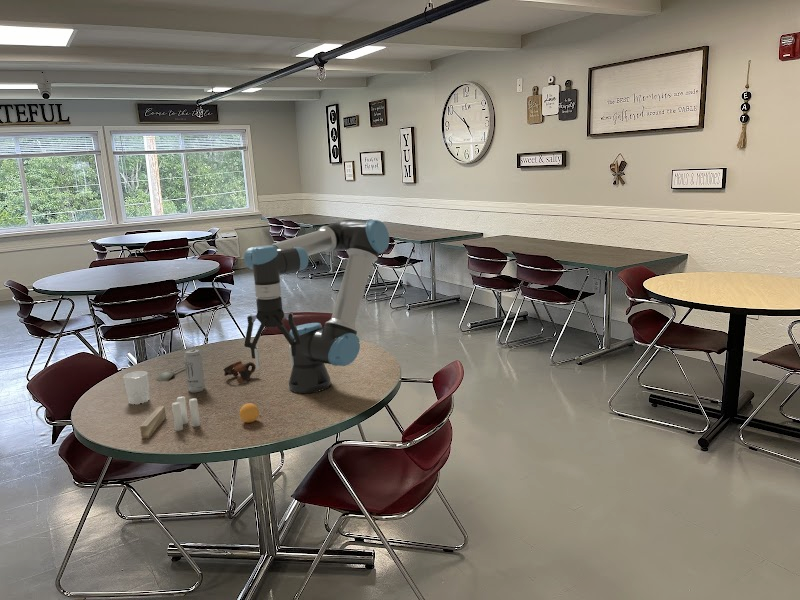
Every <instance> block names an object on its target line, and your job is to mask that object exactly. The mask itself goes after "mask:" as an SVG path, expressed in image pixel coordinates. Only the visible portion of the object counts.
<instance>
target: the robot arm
mask: <svg viewBox="0 0 800 600" xmlns="http://www.w3.org/2000/svg"><path fill="white" fill-rule="evenodd" d="M389 233H390V232H389V231H388V227H386V224H385V223H384V222H382V221H381V220H379V219H352V218H351V219H344V220H340V221H336V222H333V223H330V224H326V225H323V226H320V227H319V229H317V230H316V231H313V232H309V233H306V234H303V235H298V236H295V237H292V238H289V239H285V240H281V241H278V242H275V243H271V244H267V245H258V246H252V247H249V248H247V249H246V250H245V252H244V254H243V260H244V265H245V266H246V267H247V268H248V269H250V270H252V271H253V280H254V290H255V297H256V309H257V311H256V314H249V315H248V316H247V319H246V320H247V328H246V335H245V339H244V347H245V348H250V351H251V358H252V359H255V367H256V368H255V370H259V369H260V368H261V360H260V359H261V358H260V348H259V346H257V344H258V342H259V339H260V337H261V335H262V333H263V331H264V329H265V328H271V327H272V328H276V327H277V328H278V330H280V332H281V334H282V335H283V336H284V337H285V340H286V341H287V342H288V344H289V346H288V356H289V367H290V368H291V371H290V376H289V381H288V388H289V389H288V390H290V391H291V390H292V391H291V392H293V391H294V393H297V392H299V394H310V393H309V392H313V393H317V392H316V391H318V392H320V391H319V390H322V389H325V388H327V387H328V388H329V385H330V384H332V381H331V376H330V374H329V371H328V369H327V367H326V365H327V364H328V365H332V366H333V367H334V366H335V367H337V366H339V367H346V366H349V365H350V364H352V363H353V362H354V361H355V360H356V359H357V357H358V355H359V353H360V349H361V344H360V342H361V341H360V338H359V336H358V335H357V334H358V330H357V328H356V327H355V324H356V321H357V318H358V314H359V311H360V307H361V304H362V300H363V297H364V294H365V290H366V286H367V284H368V283H367V282H368V279H369V275H370V272H371V269H372V265H373V263H375V262H377V261H378V260H379V259H378V258H379V255H380V254H382V253H385V252H386V251H387V249H388V248H389V246H390V245H389V244H390V234H389ZM333 251H345V252H346V254H347V255H348V259H347V262H346V267H345V269H344V273H343V275H342V281H341V284H340V286H339V290H338V293H337V298H336V301H335V304H334V307H333V311H332V314H331V318H330V319H329V320H328V321H326V322H325V323H324V326H322V324H321V322H311V323H309V322H308V323H304V324H300V325H299V324H298V325H296V323H295V320H294V312H292V311H291V312H284V309H283V303H282V297H281V295H282V290H281V288H282V287H281V279H280V278H281V275H285V274H291V273H298V272H301V271H303V270H305V269H306V268H307V267H308V266H309V261H310V260H309V256H312V255H317V254H319V253H322V252H326V253H331V252H333ZM284 318H285V319H286V321H288V324H289V327H290V329H289V330H288V329H287V328H286V326H285V323H284V322H283V321H282V320H283V319H284ZM256 319H257V321H258V322H259V323H260V325H259V327H258V329H257V332H256V334H255V336H254V338H253V340H252V342H251V339H252V333H253V328H254V323H255V322H256ZM325 364H326V365H325ZM330 386H331V385H330ZM328 388H327V389H328ZM325 390H326V389H325ZM322 391H323V390H322Z"/></svg>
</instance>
